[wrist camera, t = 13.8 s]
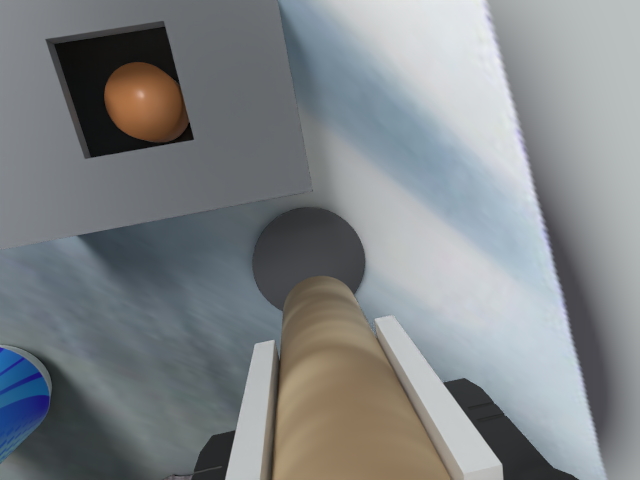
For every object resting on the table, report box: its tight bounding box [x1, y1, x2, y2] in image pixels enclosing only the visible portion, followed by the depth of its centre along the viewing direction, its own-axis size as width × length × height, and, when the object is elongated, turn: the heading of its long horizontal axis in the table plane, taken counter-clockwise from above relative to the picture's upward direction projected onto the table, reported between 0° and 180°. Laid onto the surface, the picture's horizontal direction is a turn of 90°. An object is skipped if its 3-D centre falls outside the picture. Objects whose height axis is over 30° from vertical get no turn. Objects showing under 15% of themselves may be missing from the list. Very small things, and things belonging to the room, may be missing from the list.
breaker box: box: [0, 0, 313, 250], centre depth 20 cm, size 18×14×6 cm
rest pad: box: [253, 208, 365, 311], centre depth 26 cm, size 9×9×1 cm
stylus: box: [271, 276, 451, 480], centre depth 9 cm, size 4×4×16 cm
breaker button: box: [104, 62, 189, 143], centre depth 20 cm, size 4×4×2 cm
